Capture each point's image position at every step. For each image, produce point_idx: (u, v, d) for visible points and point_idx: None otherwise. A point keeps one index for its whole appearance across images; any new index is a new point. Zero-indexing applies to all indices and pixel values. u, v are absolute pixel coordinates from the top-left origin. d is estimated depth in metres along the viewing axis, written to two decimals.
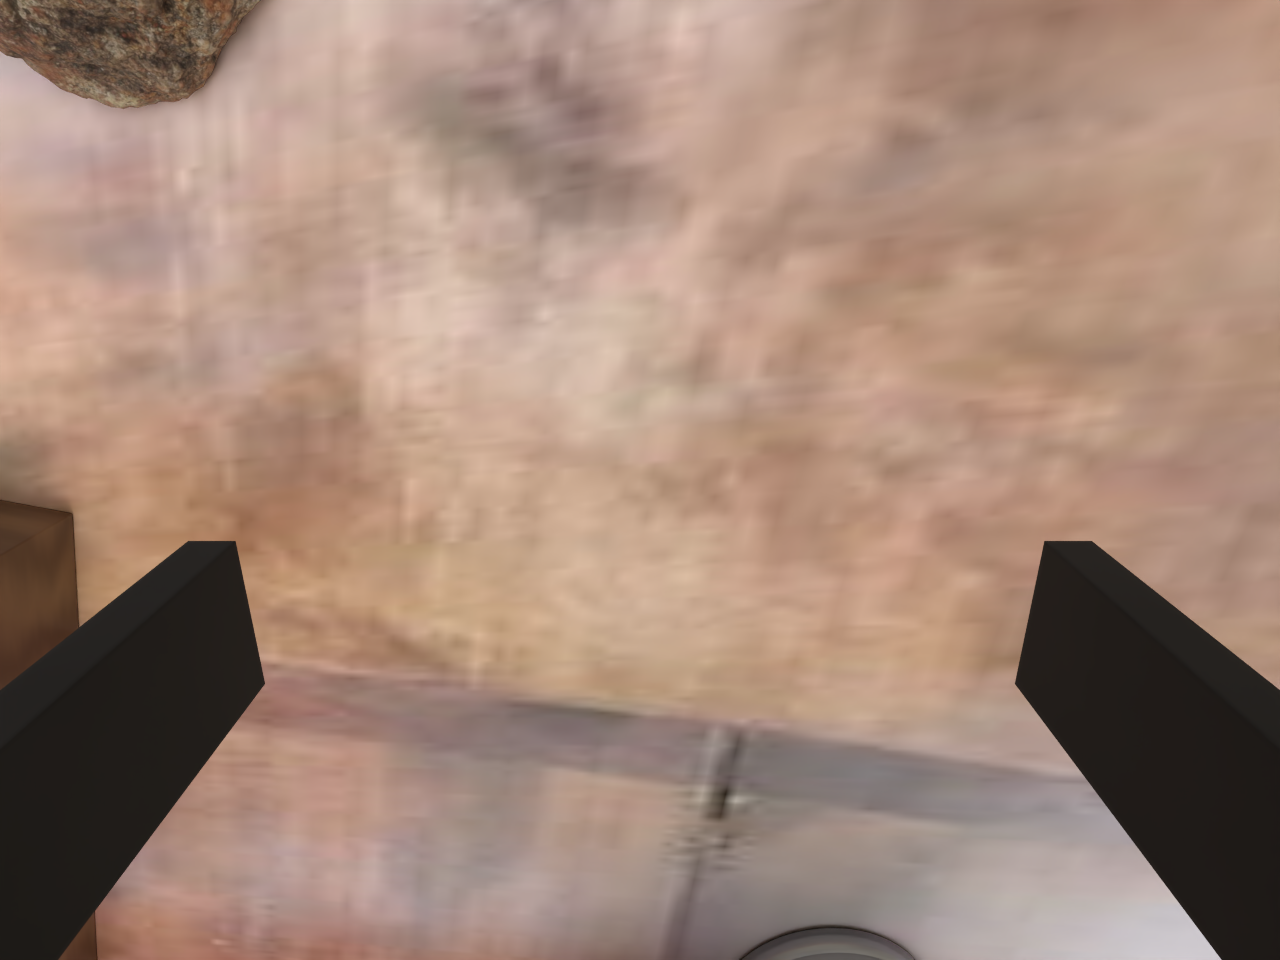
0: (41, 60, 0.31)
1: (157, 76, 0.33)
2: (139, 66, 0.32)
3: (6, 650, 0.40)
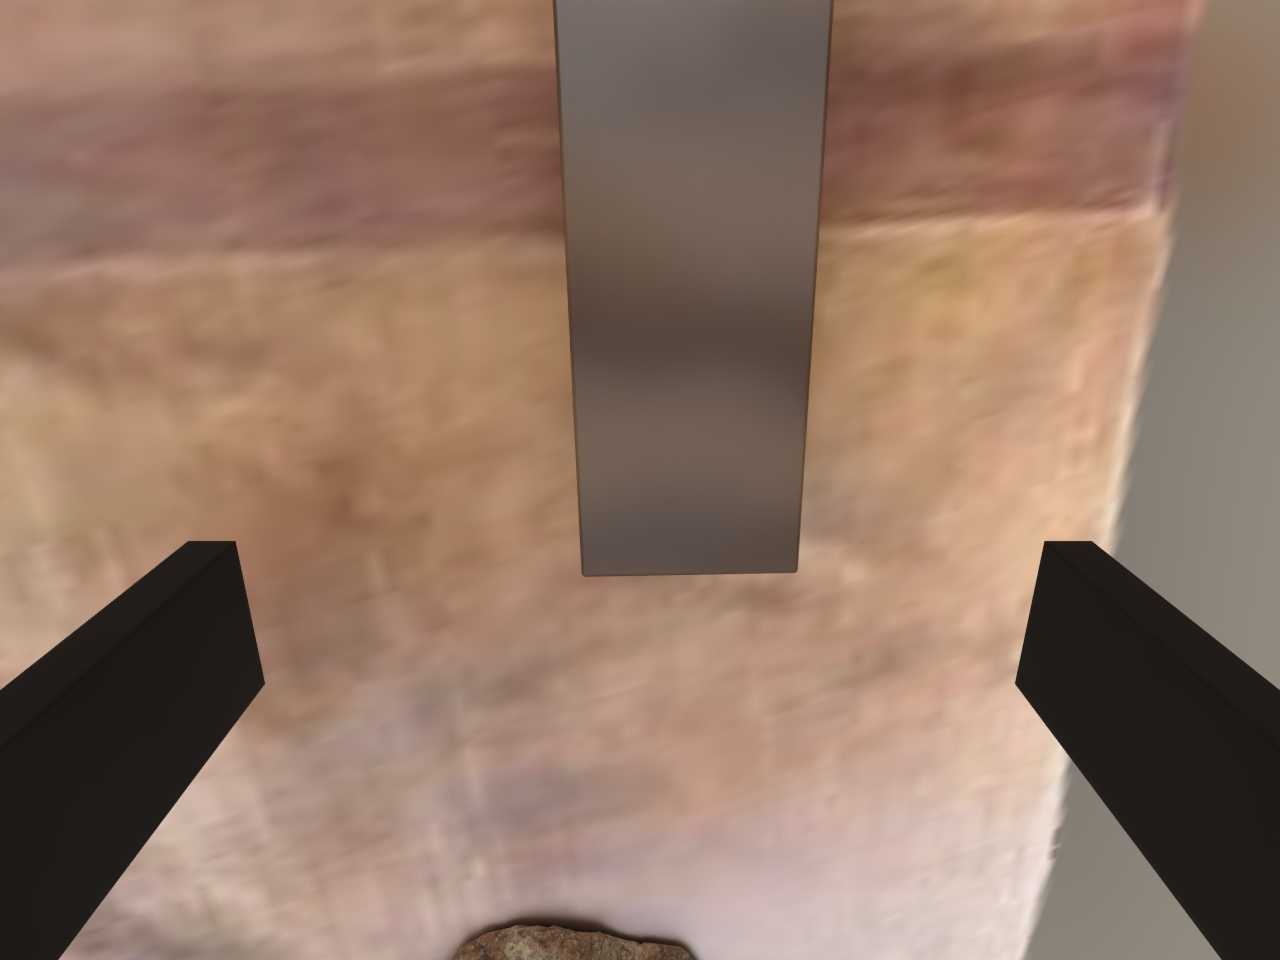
0: None
1: None
2: None
3: None
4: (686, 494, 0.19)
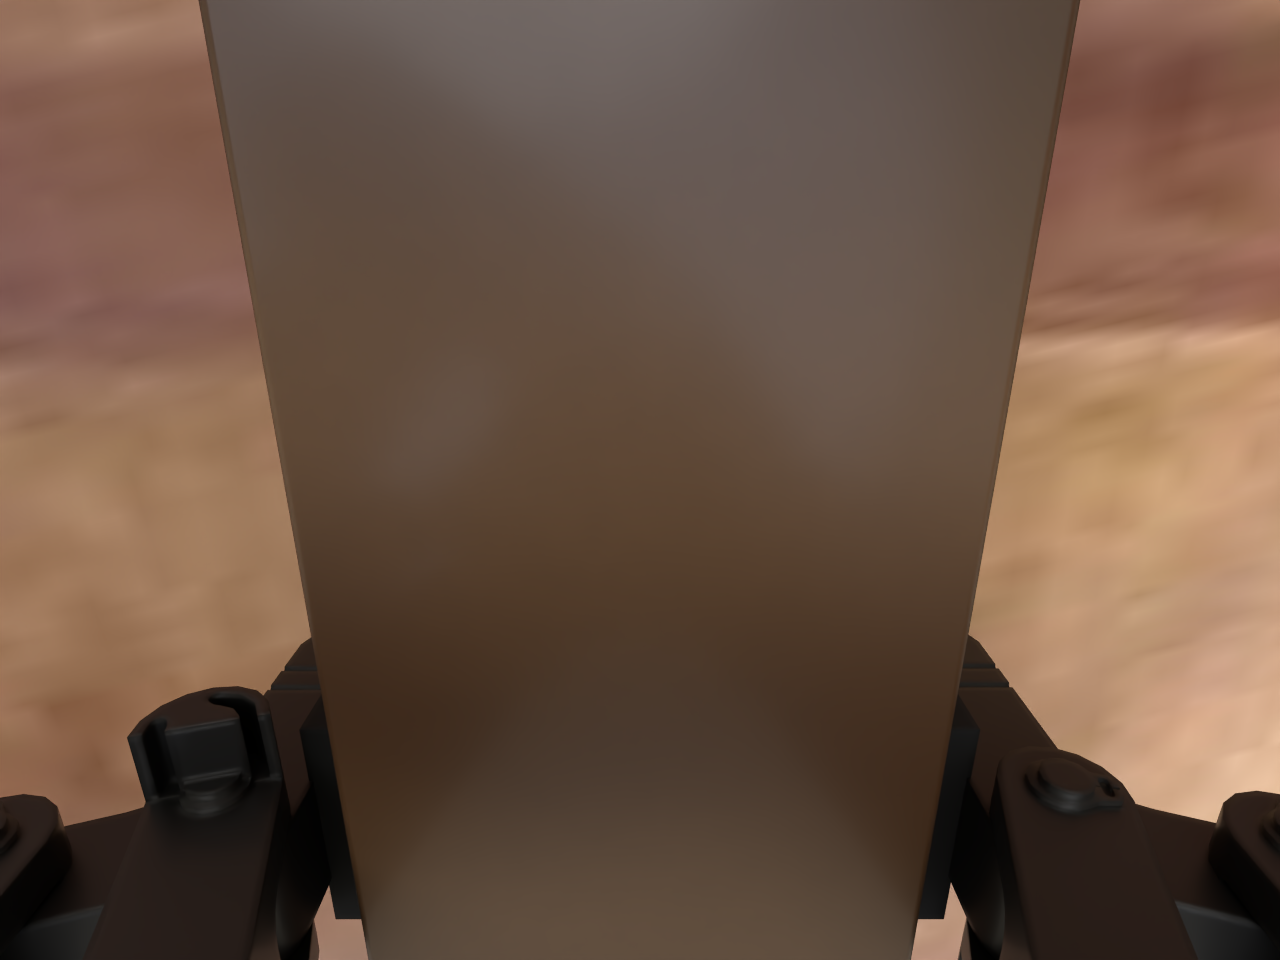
0: None
1: None
2: None
3: None
4: None
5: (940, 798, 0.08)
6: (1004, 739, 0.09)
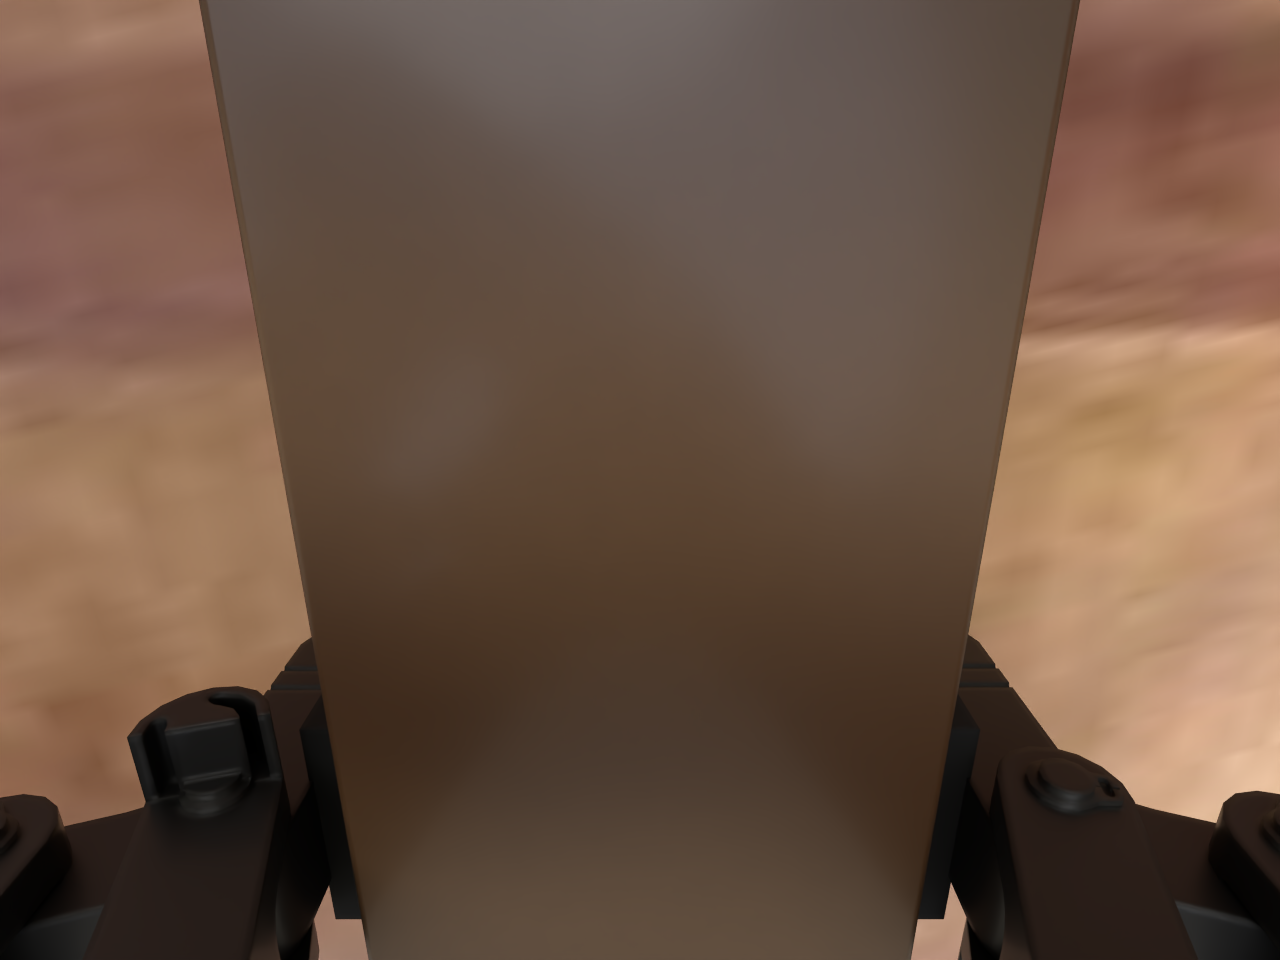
0: None
1: None
2: None
3: None
4: None
5: (940, 798, 0.08)
6: (1004, 739, 0.09)
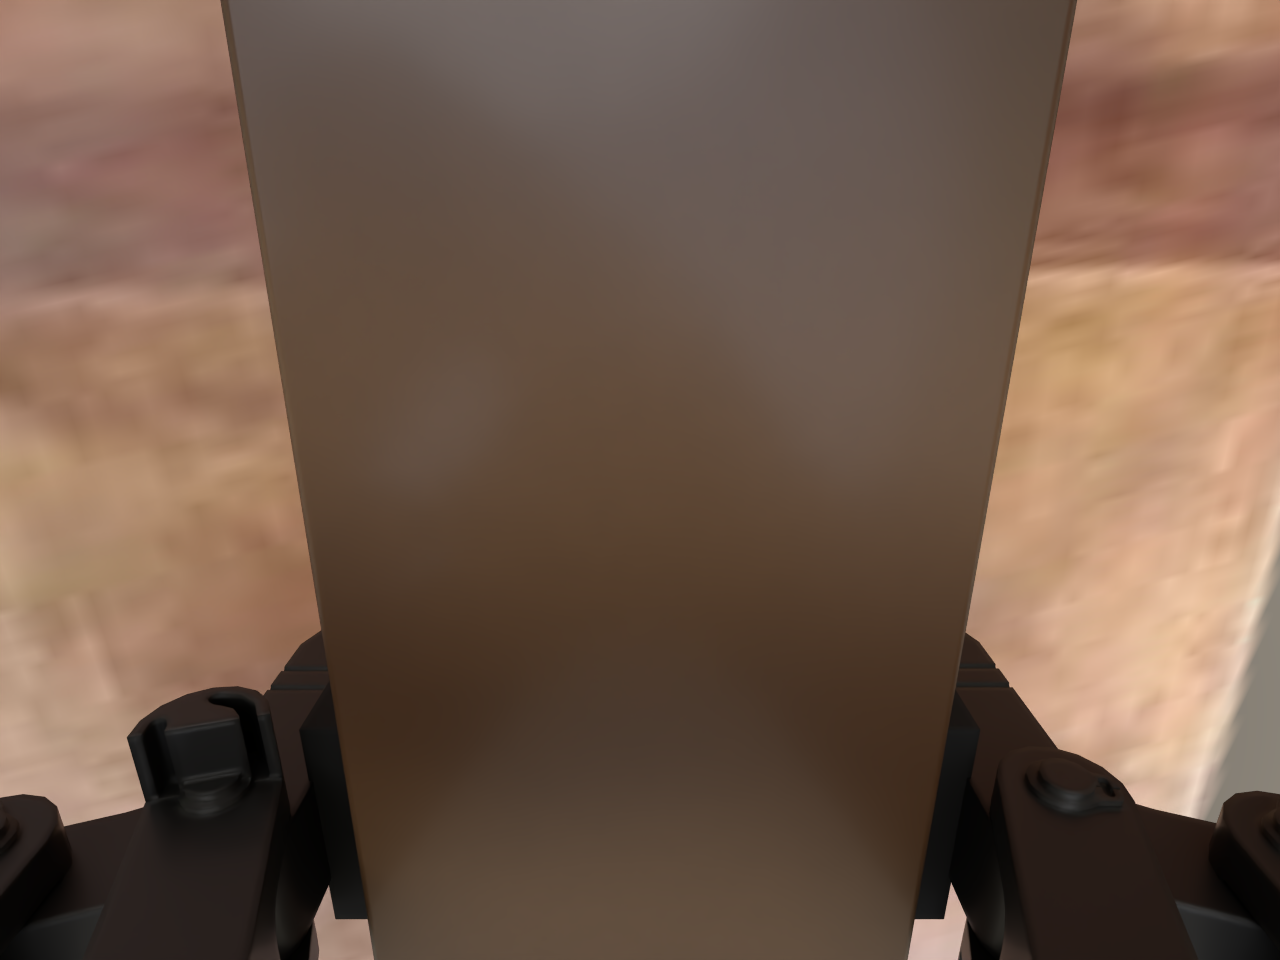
0: None
1: None
2: None
3: None
4: None
5: (940, 798, 0.08)
6: (1004, 739, 0.09)
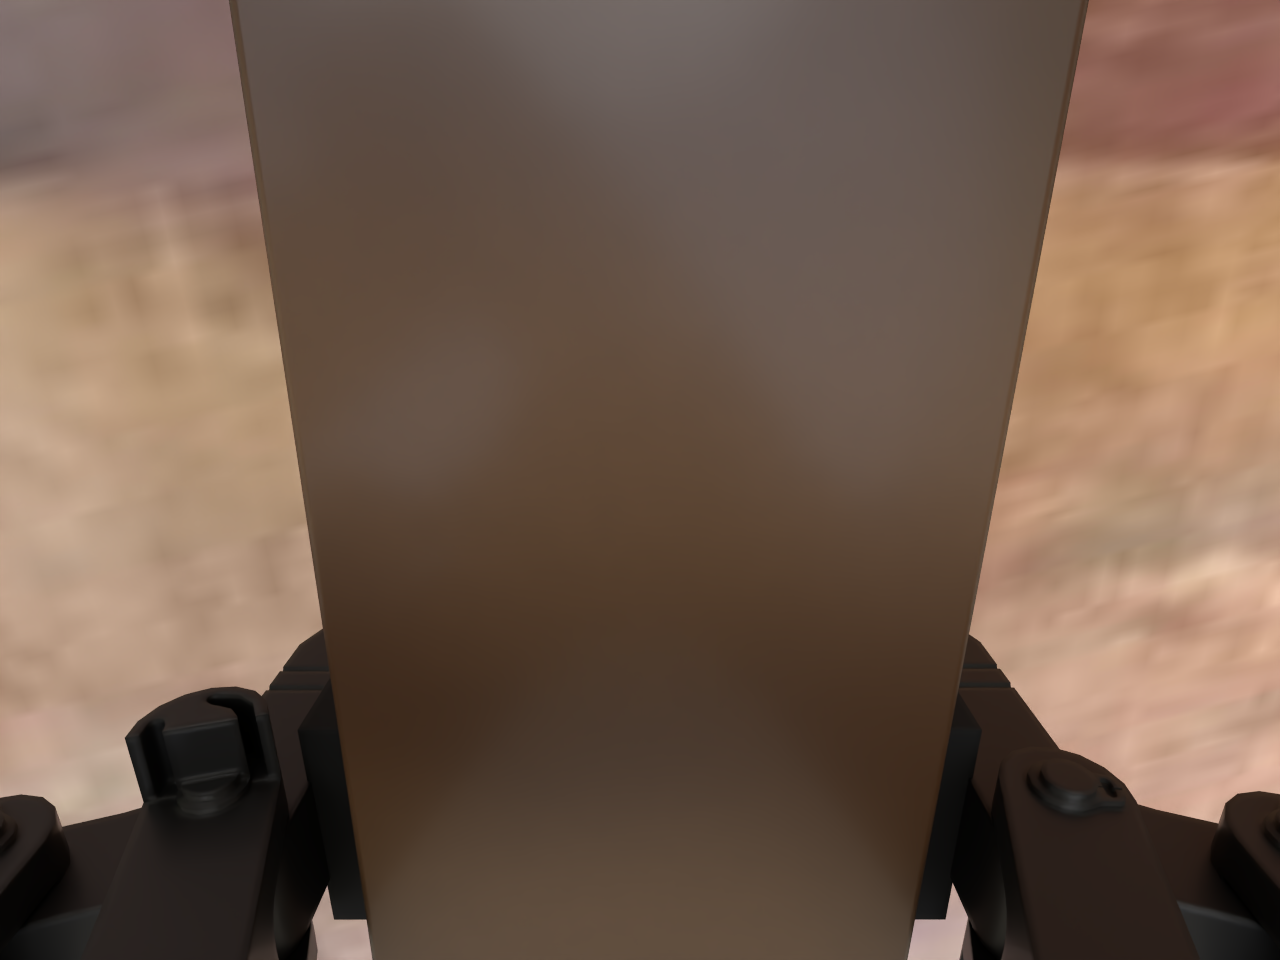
0: None
1: None
2: None
3: None
4: None
5: (942, 798, 0.08)
6: (1006, 739, 0.09)
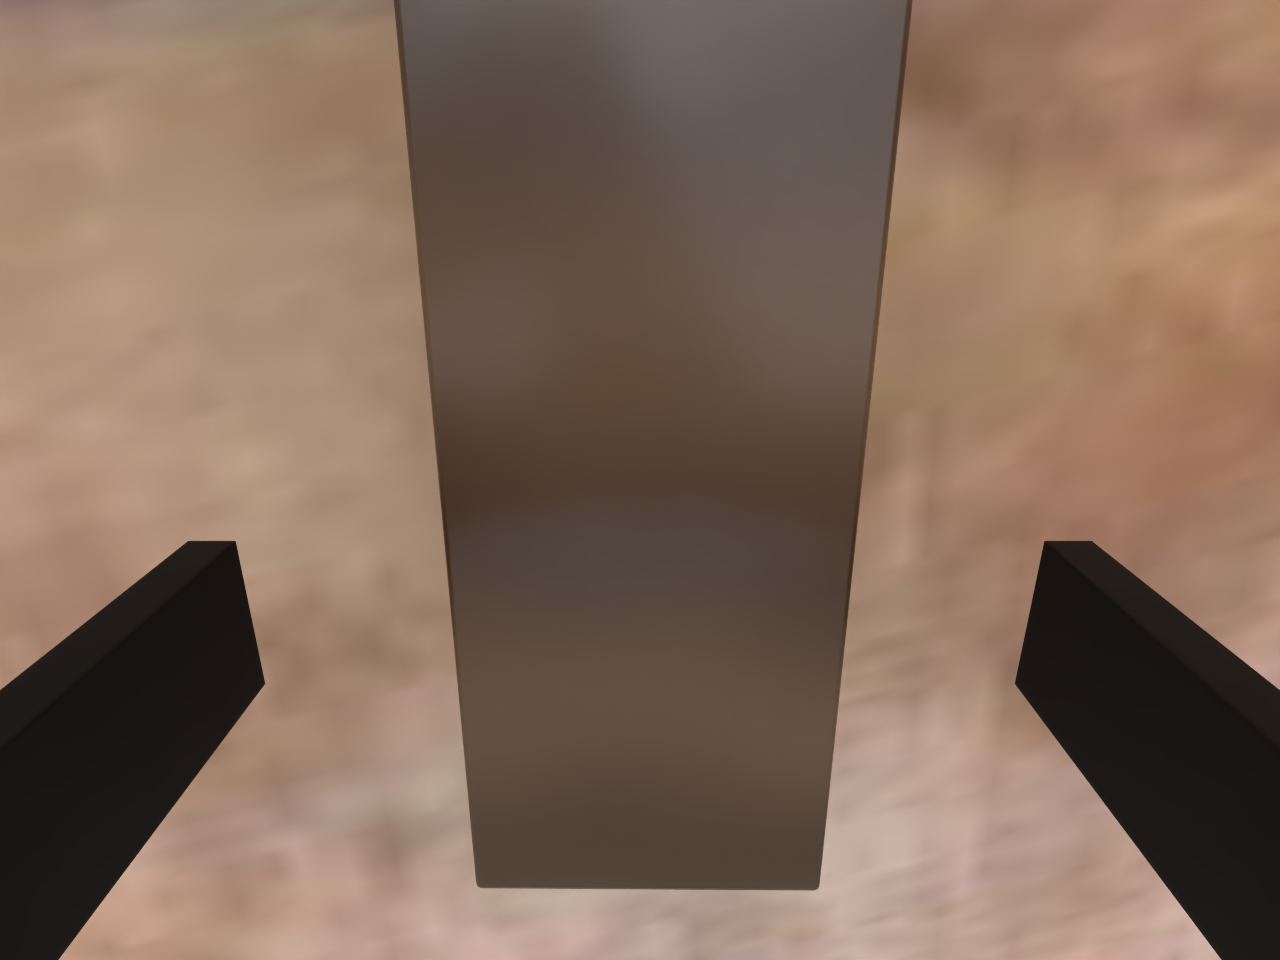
0: None
1: None
2: None
3: None
4: (641, 778, 0.12)
5: None
6: None
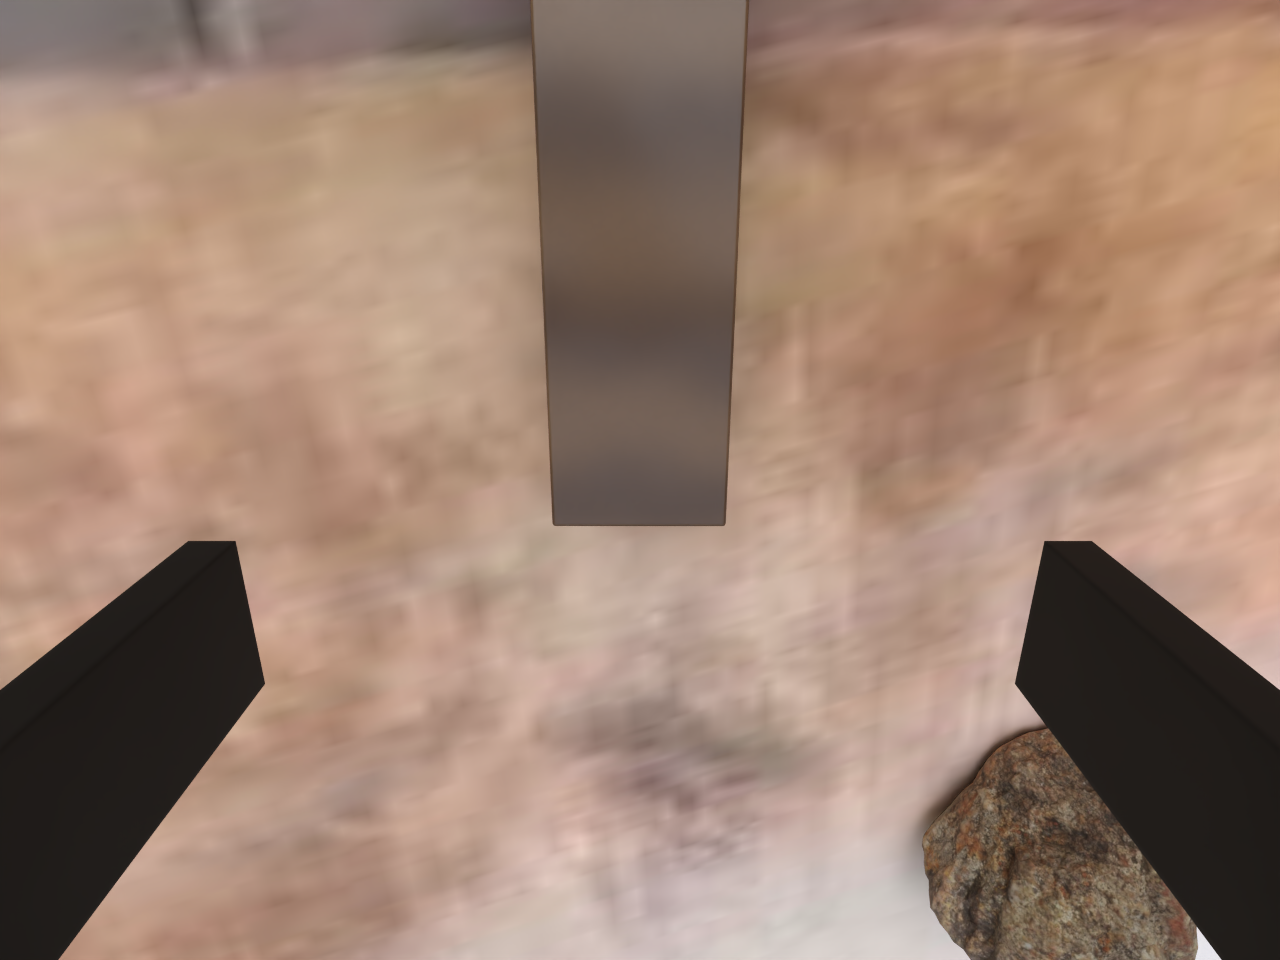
0: None
1: (1034, 782, 0.35)
2: (1048, 793, 0.35)
3: None
4: (635, 460, 0.24)
5: None
6: None
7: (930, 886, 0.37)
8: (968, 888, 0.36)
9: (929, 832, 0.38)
